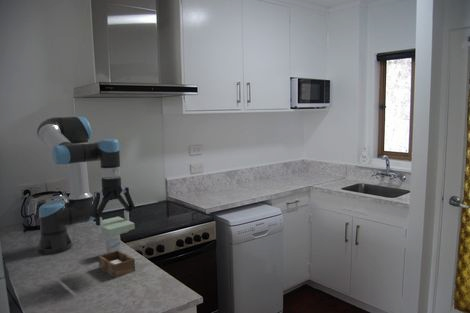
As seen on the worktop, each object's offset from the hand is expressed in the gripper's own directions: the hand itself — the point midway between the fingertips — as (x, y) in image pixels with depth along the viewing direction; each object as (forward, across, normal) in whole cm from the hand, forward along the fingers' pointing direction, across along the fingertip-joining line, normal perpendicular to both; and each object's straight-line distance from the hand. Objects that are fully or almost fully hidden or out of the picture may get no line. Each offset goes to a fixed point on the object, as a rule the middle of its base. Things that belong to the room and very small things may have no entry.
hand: (114, 229), depth 149 cm
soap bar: (+17, 0, 0) cm, 17 cm away
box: (+18, 0, 0) cm, 18 cm away
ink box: (+19, +7, +17) cm, 26 cm away
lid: (+1, 0, 0) cm, 1 cm away
